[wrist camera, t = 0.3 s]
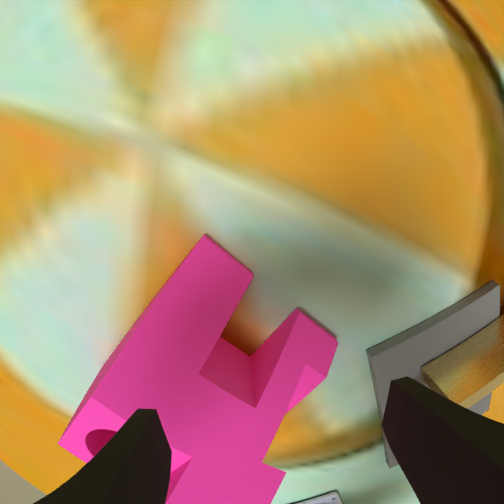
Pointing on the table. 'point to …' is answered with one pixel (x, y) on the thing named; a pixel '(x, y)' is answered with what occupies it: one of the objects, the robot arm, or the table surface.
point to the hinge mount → (431, 347)
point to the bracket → (205, 384)
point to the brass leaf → (469, 367)
